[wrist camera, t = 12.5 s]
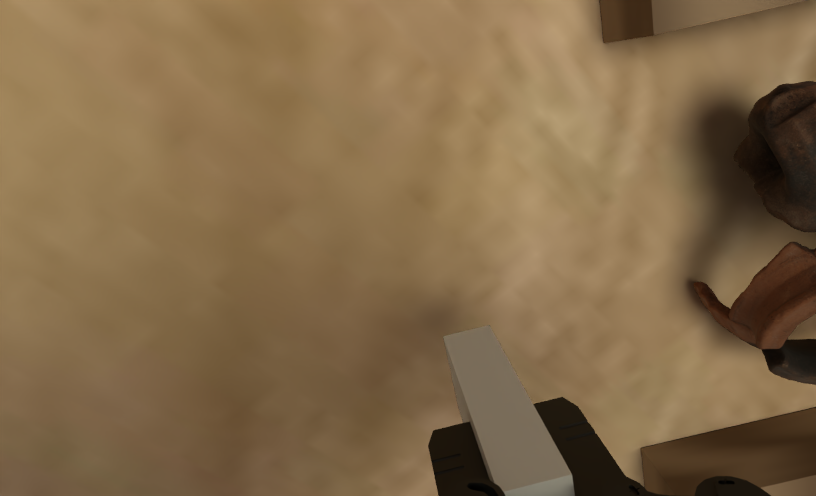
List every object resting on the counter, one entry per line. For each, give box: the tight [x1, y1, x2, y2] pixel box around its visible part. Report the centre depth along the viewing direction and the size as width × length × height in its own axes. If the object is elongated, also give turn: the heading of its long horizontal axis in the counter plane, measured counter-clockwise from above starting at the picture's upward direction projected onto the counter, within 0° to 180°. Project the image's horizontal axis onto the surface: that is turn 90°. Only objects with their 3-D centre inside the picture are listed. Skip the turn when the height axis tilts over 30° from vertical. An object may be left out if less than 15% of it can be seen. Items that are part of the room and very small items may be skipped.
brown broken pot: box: [694, 81, 816, 385], centre depth 19 cm, size 12×10×8 cm
